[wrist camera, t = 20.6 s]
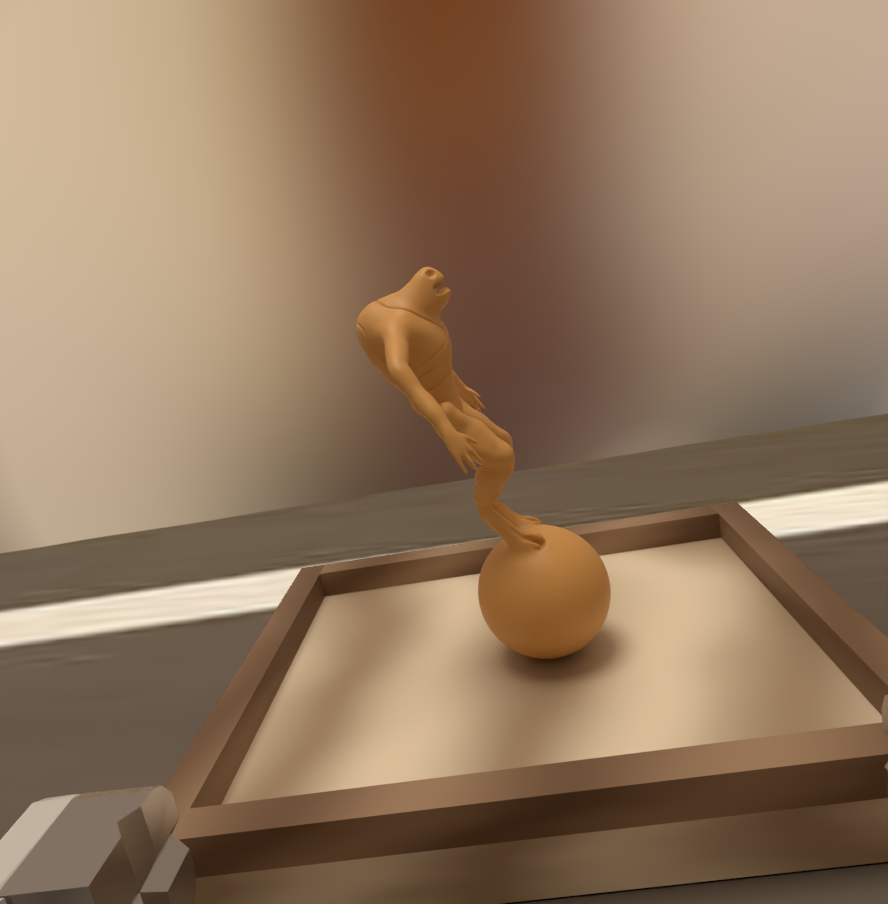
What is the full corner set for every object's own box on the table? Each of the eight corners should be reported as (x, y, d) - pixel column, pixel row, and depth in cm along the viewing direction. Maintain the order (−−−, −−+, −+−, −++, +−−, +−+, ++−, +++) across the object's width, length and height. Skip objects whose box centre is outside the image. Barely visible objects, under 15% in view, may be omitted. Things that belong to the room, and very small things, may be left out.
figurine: (645, 718, 19) (579, 233, 17) (412, 748, 20) (313, 283, 17) (598, 587, 27) (549, 247, 25) (434, 610, 28) (369, 280, 25)
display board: (157, 940, 17) (128, 845, 16) (314, 622, 33) (301, 568, 32) (1003, 849, 15) (1001, 740, 15) (742, 560, 31) (736, 501, 30)
